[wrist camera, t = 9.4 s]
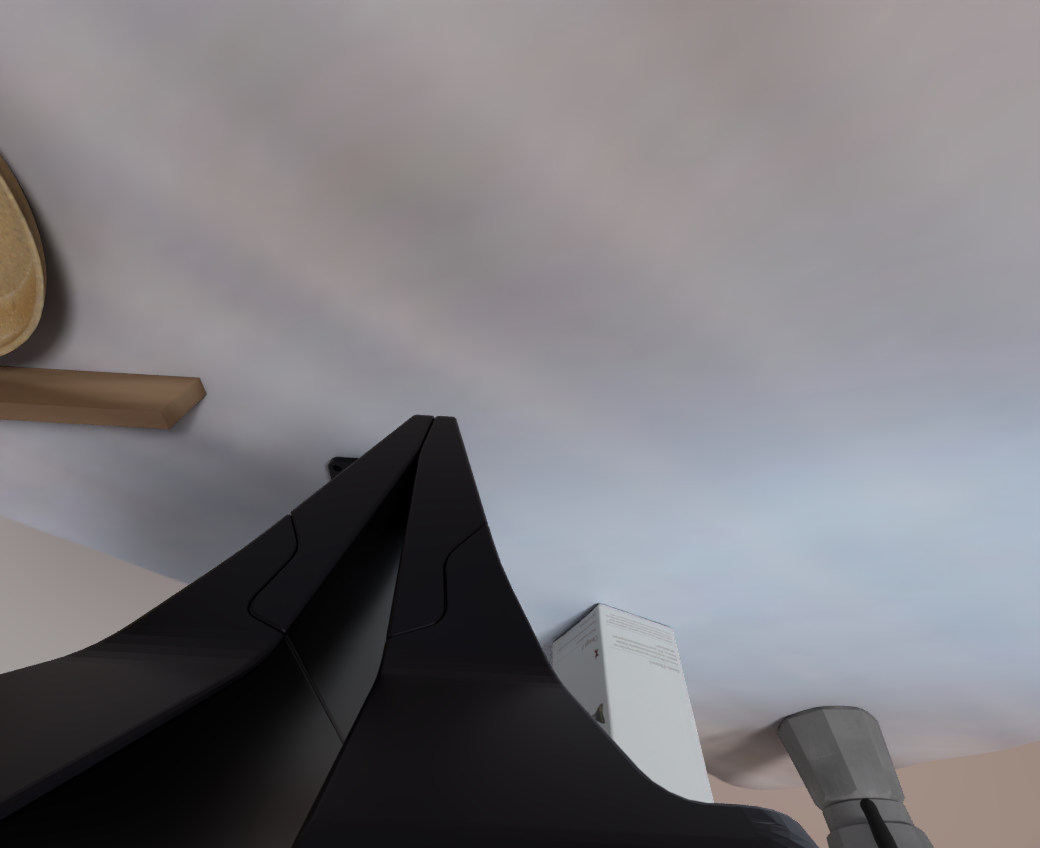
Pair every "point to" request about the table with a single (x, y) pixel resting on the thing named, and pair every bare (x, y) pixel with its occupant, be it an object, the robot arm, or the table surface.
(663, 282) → the table surface
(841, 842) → the coffeepot
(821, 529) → the table surface
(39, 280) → the plant saucer
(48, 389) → the lane walls
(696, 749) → the supplement box
